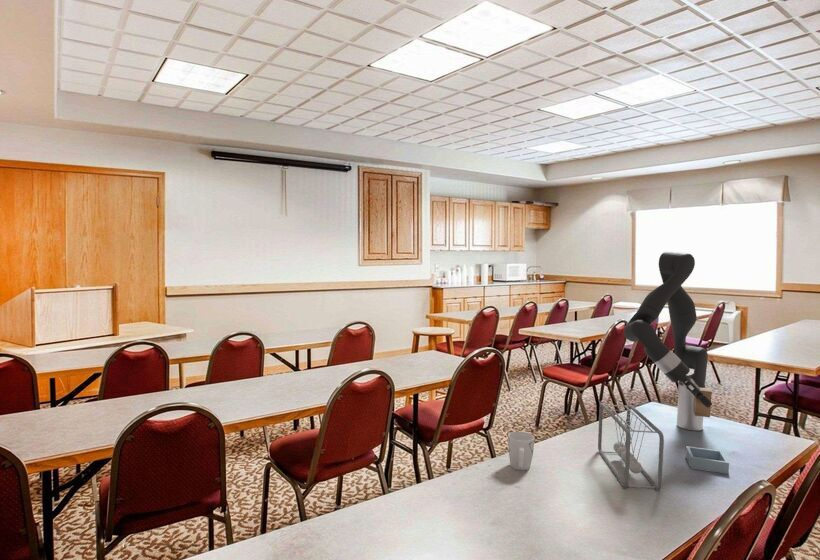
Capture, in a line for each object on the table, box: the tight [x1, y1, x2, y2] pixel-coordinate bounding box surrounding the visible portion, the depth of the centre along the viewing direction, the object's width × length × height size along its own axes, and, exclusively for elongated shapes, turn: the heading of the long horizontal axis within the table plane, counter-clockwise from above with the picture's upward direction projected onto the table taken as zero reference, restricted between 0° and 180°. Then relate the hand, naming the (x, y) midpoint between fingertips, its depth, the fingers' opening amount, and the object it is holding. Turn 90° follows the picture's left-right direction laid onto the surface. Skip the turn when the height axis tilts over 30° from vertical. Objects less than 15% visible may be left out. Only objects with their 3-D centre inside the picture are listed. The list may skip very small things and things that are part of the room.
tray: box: [685, 445, 730, 475], centre depth 164 cm, size 11×11×4 cm
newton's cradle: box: [597, 402, 665, 491], centre depth 158 cm, size 30×10×18 cm, turn 174°
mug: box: [507, 431, 535, 471], centre depth 158 cm, size 11×8×10 cm
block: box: [693, 388, 713, 418], centre depth 172 cm, size 4×4×9 cm
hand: (708, 403), depth 171 cm, fingers closed on block, 4 cm apart
